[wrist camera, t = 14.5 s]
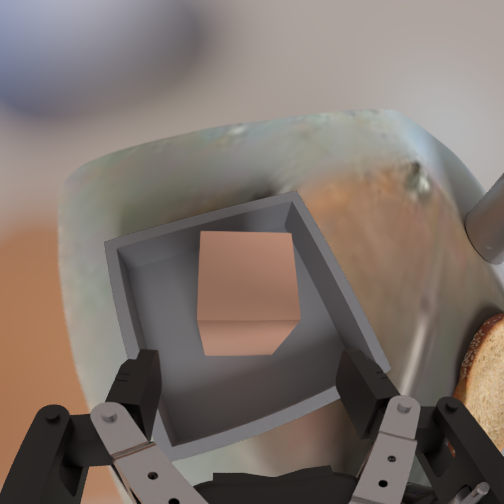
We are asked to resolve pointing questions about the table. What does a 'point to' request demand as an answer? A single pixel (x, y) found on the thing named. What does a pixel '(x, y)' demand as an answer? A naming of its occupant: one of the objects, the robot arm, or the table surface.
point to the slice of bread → (485, 379)
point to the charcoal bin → (234, 367)
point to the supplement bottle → (419, 494)
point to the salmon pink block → (246, 292)
